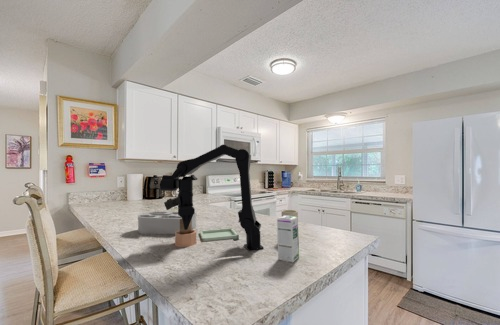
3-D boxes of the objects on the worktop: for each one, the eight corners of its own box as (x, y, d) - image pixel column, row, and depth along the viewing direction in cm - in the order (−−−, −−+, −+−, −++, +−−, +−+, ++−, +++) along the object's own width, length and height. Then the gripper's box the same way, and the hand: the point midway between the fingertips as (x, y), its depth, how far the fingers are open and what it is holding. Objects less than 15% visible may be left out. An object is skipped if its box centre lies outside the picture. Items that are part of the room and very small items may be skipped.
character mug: (297, 245, 94) (296, 213, 95) (280, 244, 96) (279, 213, 97) (299, 237, 105) (298, 209, 105) (283, 236, 107) (283, 208, 107)
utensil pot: (197, 247, 93) (197, 233, 93) (174, 249, 90) (174, 235, 90) (195, 241, 101) (195, 228, 102) (174, 243, 99) (174, 230, 99)
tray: (238, 239, 103) (238, 235, 103) (202, 243, 98) (202, 238, 98) (231, 231, 116) (231, 227, 116) (199, 234, 111) (199, 230, 111)
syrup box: (293, 263, 76) (292, 219, 77) (277, 259, 79) (276, 217, 80) (299, 257, 81) (298, 216, 82) (283, 254, 84) (283, 214, 85)
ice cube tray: (182, 237, 109) (182, 218, 109) (130, 234, 114) (130, 217, 114) (196, 228, 125) (196, 212, 126) (150, 226, 130) (150, 211, 130)
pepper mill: (191, 241, 94) (191, 216, 95) (179, 243, 93) (179, 217, 93) (191, 238, 99) (191, 214, 99) (179, 239, 97) (179, 215, 98)
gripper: (166, 190, 103) (166, 224, 103) (164, 193, 85) (164, 236, 85) (191, 189, 106) (192, 222, 106) (194, 192, 89) (194, 233, 88)
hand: (185, 228), depth 96 cm, fingers closed on pepper mill, 5 cm apart
